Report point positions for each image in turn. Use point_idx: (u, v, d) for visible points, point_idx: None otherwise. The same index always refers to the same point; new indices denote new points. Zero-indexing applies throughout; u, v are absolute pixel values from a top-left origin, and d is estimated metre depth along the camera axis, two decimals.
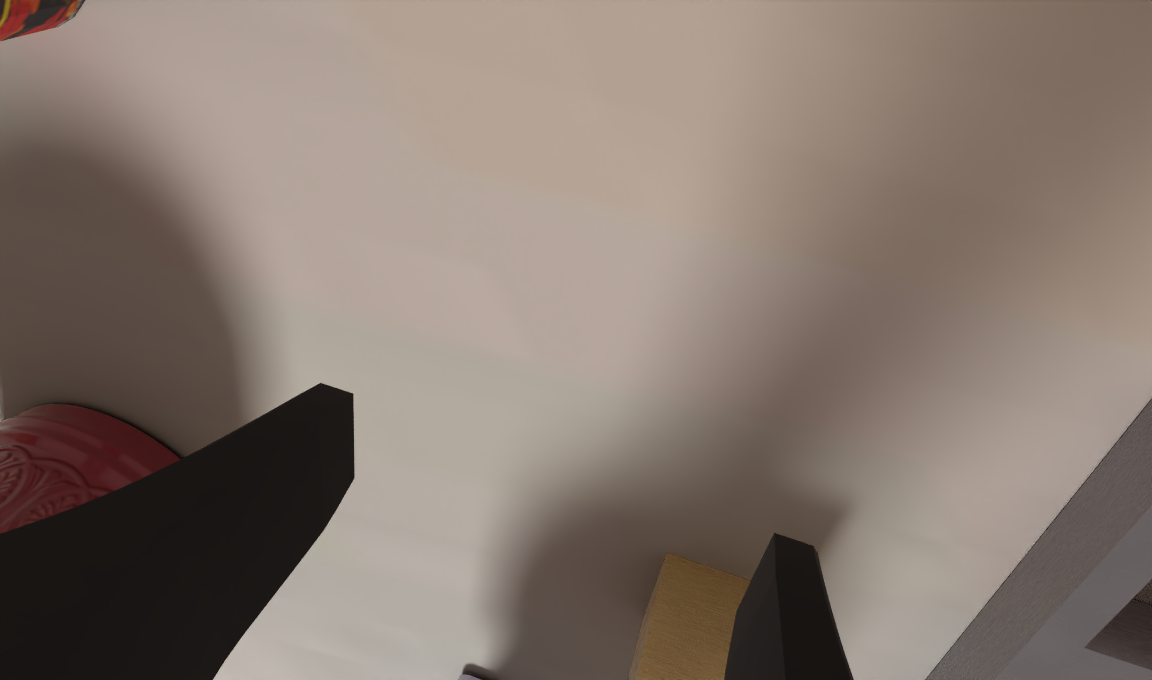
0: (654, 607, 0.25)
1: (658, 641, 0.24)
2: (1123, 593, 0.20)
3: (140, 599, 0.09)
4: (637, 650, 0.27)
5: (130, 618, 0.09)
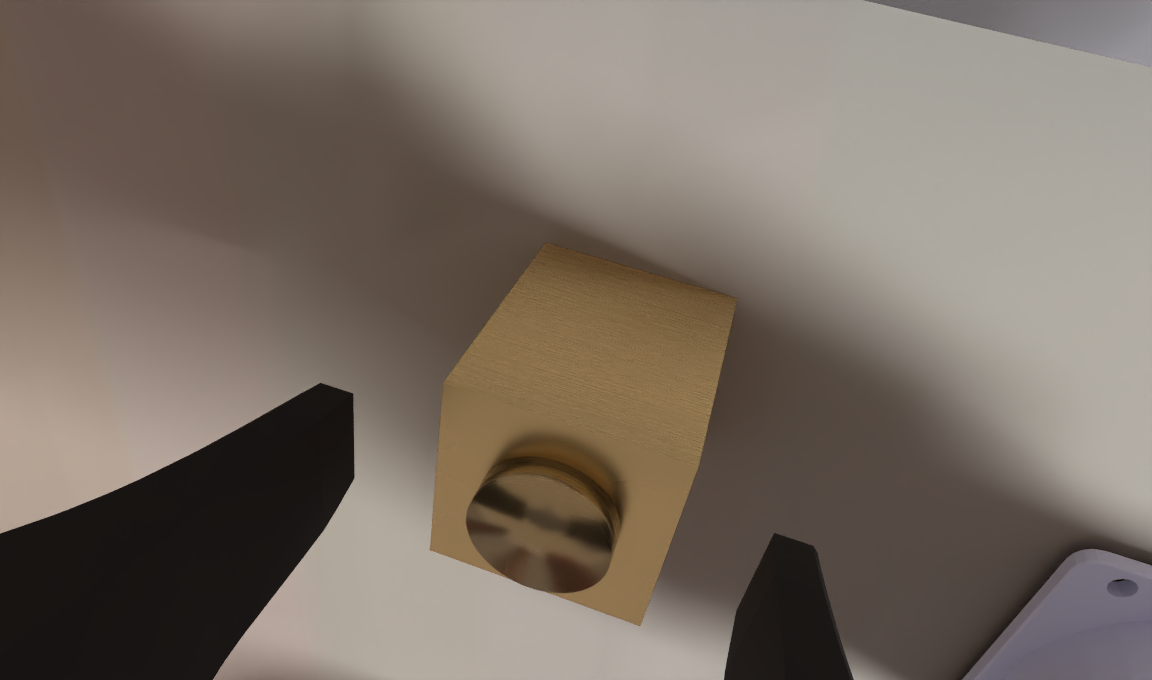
0: None
1: None
2: None
3: (140, 599, 0.09)
4: None
5: (130, 618, 0.09)
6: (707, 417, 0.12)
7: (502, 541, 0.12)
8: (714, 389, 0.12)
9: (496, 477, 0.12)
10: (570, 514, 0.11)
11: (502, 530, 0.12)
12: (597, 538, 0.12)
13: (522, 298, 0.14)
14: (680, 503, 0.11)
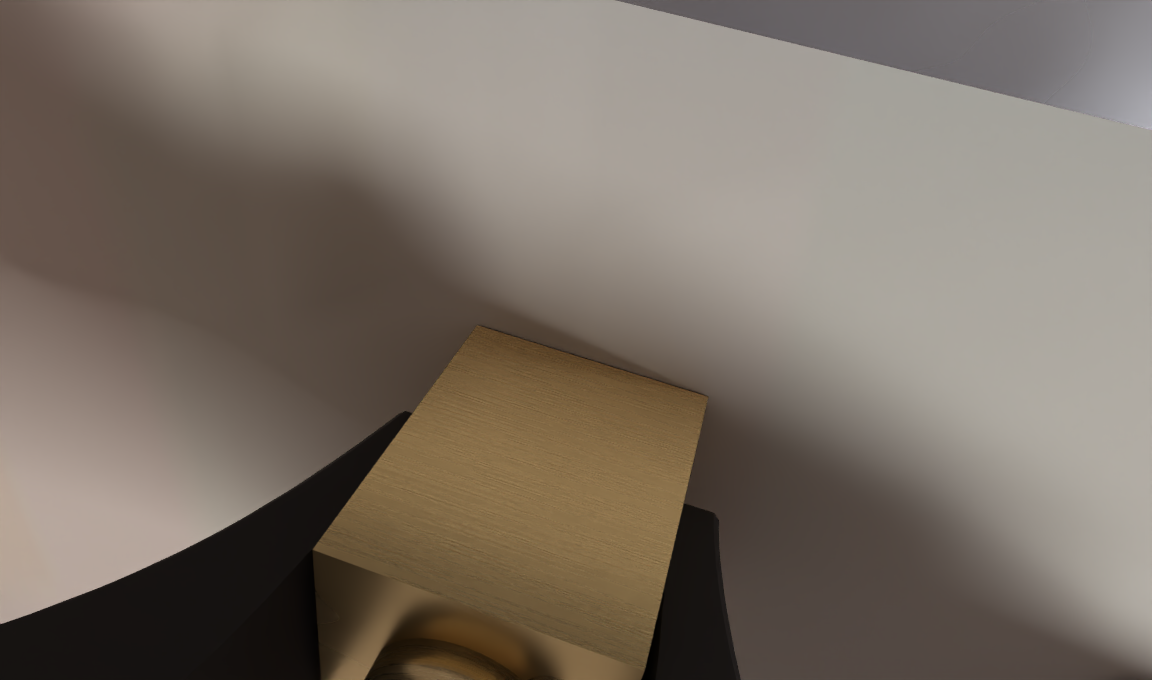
0: None
1: None
2: None
3: (258, 644, 0.09)
4: None
5: (249, 664, 0.08)
6: (660, 586, 0.09)
7: None
8: (672, 539, 0.10)
9: (385, 669, 0.09)
10: None
11: None
12: None
13: (436, 410, 0.11)
14: None
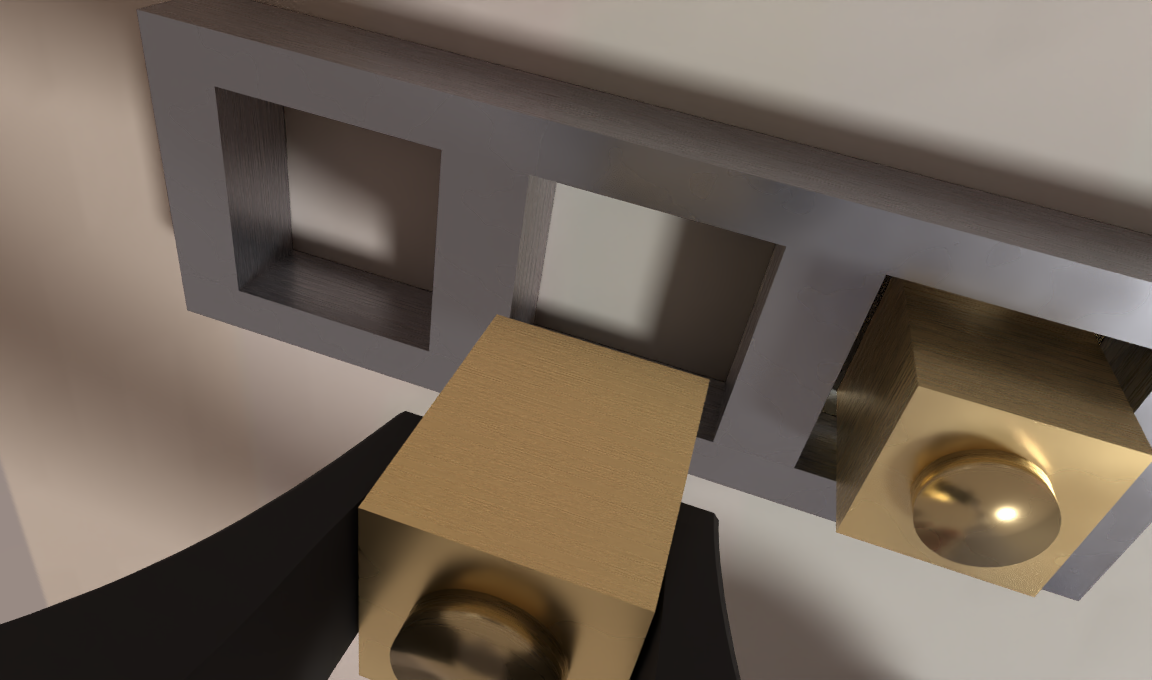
0: None
1: None
2: (346, 333, 0.20)
3: (257, 644, 0.09)
4: None
5: (249, 664, 0.08)
6: (668, 542, 0.10)
7: None
8: (678, 503, 0.11)
9: (422, 615, 0.10)
10: (506, 662, 0.10)
11: (431, 672, 0.10)
12: None
13: (463, 389, 0.12)
14: (635, 648, 0.10)
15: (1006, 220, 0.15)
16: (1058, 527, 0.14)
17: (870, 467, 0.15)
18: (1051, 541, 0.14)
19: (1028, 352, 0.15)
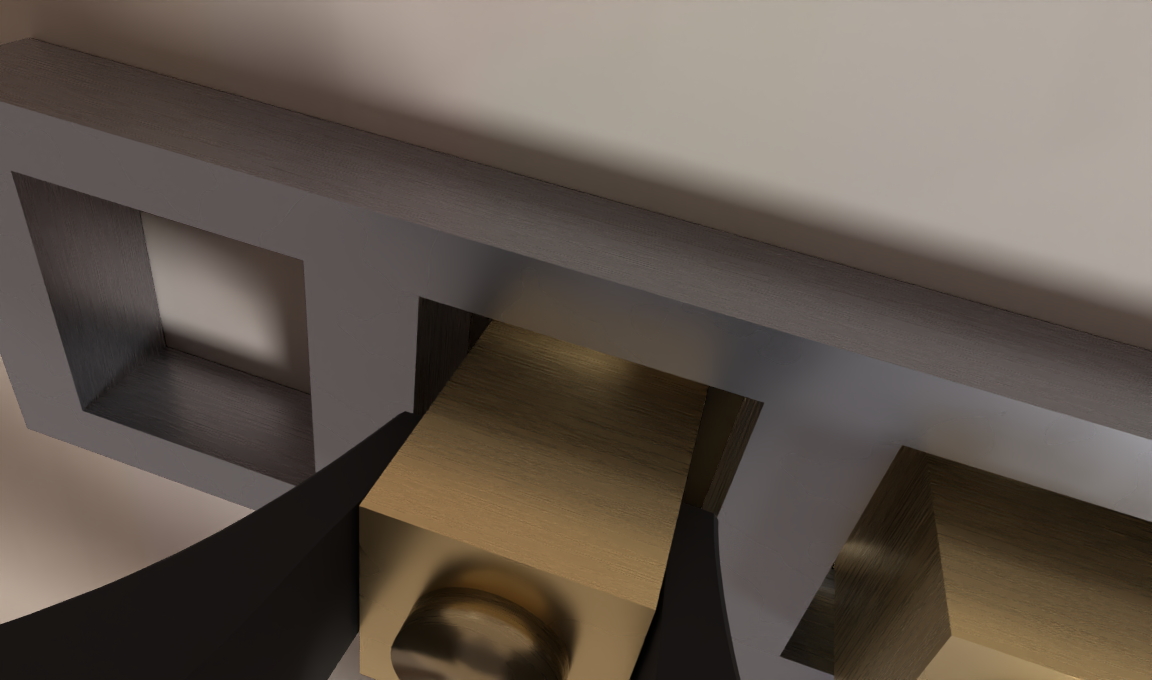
0: None
1: None
2: (216, 465, 0.16)
3: (257, 644, 0.09)
4: None
5: (249, 664, 0.08)
6: (669, 540, 0.10)
7: None
8: (678, 501, 0.11)
9: (423, 613, 0.10)
10: (507, 660, 0.10)
11: (432, 670, 0.10)
12: None
13: (463, 387, 0.12)
14: (636, 646, 0.10)
15: (1069, 371, 0.11)
16: None
17: None
18: None
19: (1099, 552, 0.11)
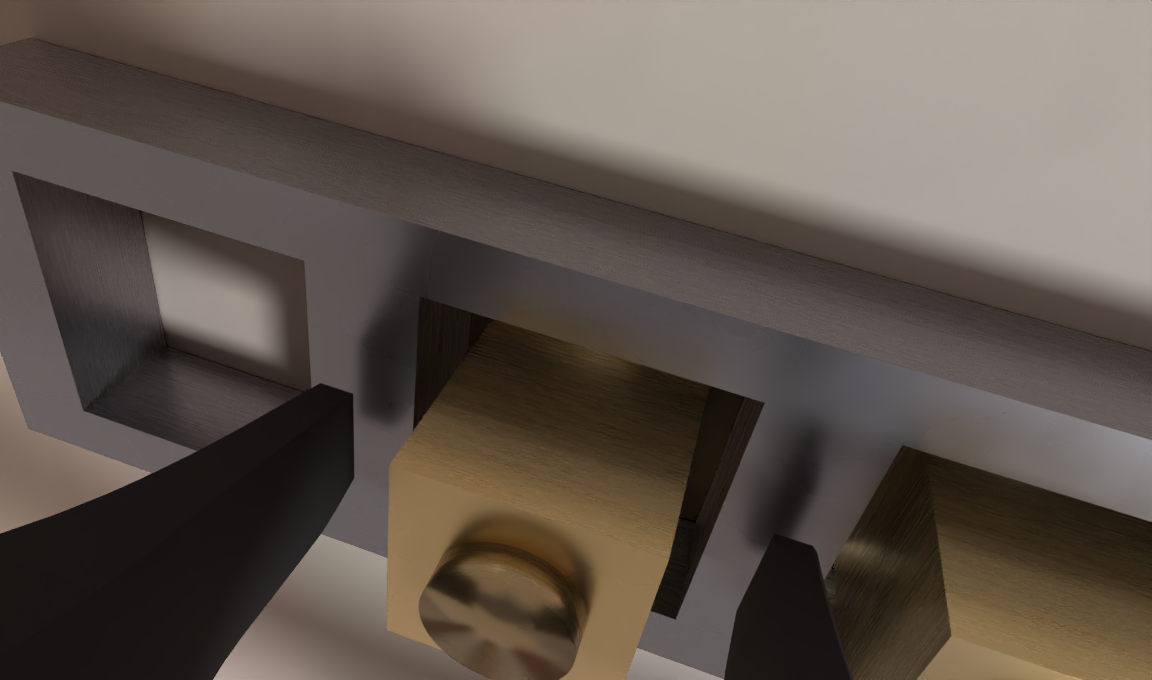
0: None
1: None
2: None
3: (140, 599, 0.09)
4: None
5: (130, 618, 0.09)
6: (680, 497, 0.11)
7: (458, 632, 0.11)
8: (689, 462, 0.11)
9: (449, 566, 0.11)
10: (529, 609, 0.10)
11: (458, 621, 0.11)
12: (560, 634, 0.10)
13: (483, 358, 0.13)
14: (650, 595, 0.10)
15: (1069, 371, 0.11)
16: None
17: None
18: None
19: (1099, 553, 0.11)
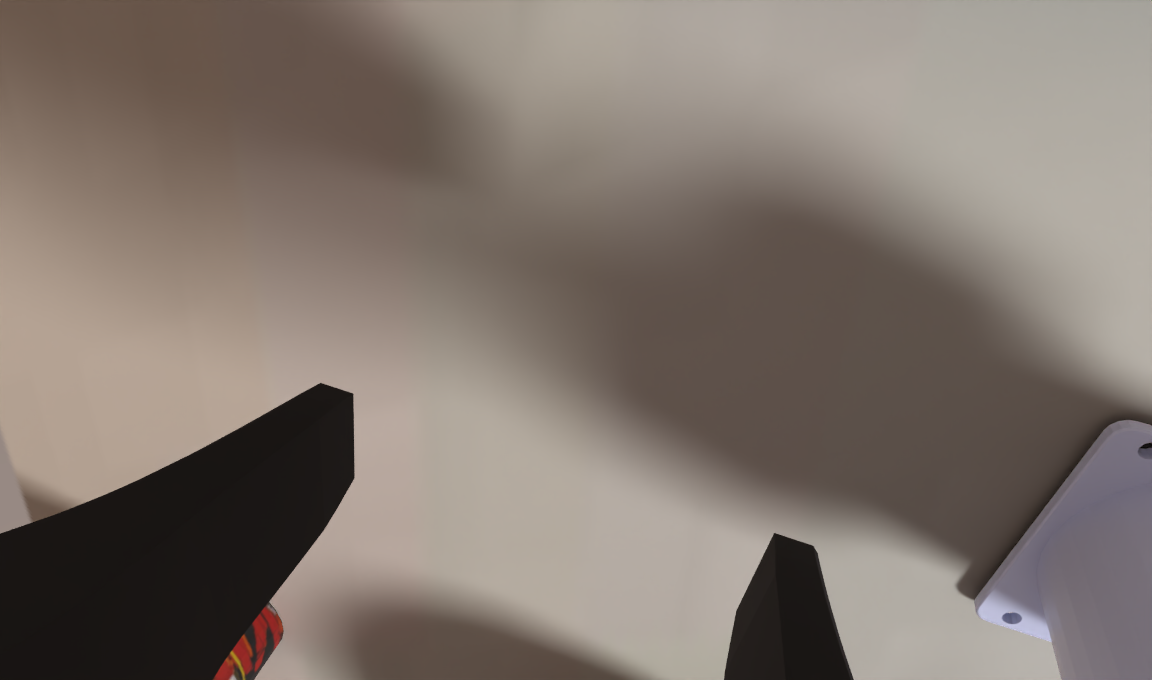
0: None
1: None
2: None
3: (140, 599, 0.09)
4: None
5: (130, 618, 0.09)
6: None
7: None
8: None
9: None
10: None
11: None
12: None
13: None
14: None
15: None
16: None
17: None
18: None
19: None
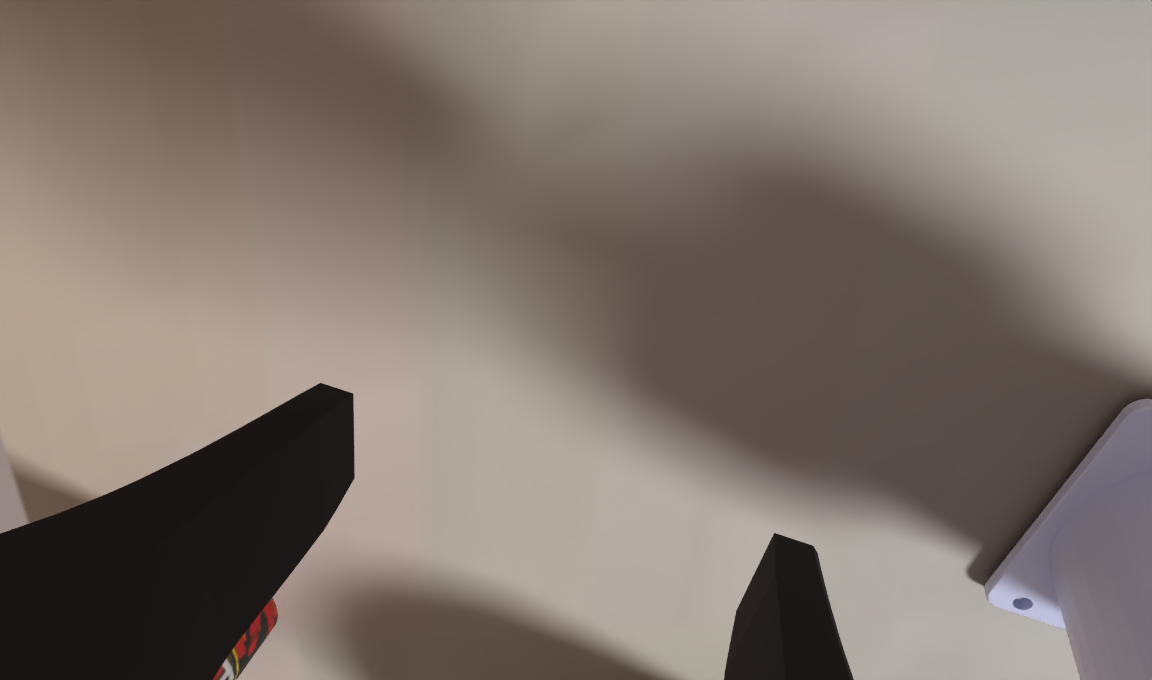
0: None
1: None
2: None
3: (140, 599, 0.09)
4: None
5: (130, 618, 0.09)
6: None
7: None
8: None
9: None
10: None
11: None
12: None
13: None
14: None
15: None
16: None
17: None
18: None
19: None
